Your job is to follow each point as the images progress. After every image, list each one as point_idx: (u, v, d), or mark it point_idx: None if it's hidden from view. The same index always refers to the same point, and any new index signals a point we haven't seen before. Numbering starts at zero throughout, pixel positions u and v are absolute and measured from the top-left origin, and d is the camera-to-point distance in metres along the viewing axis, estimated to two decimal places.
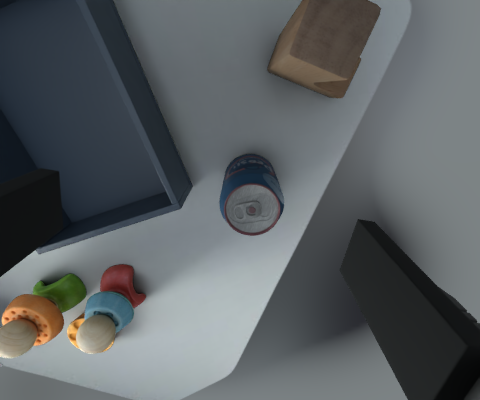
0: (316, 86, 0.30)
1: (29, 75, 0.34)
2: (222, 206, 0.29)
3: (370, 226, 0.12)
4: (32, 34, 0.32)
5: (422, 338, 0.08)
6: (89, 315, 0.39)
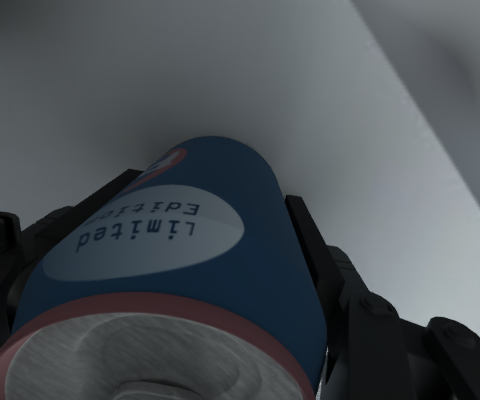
0: None
1: None
2: None
3: (294, 199, 0.13)
4: None
5: None
6: None
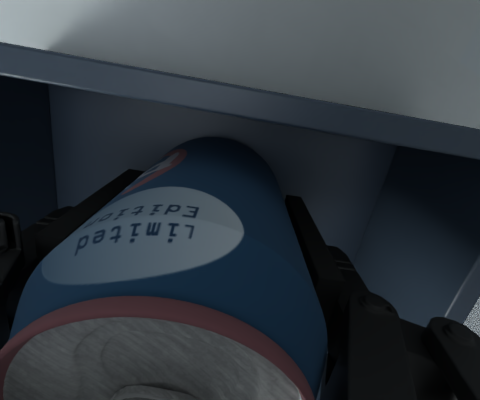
0: None
1: None
2: None
3: (294, 199, 0.13)
4: None
5: None
6: None
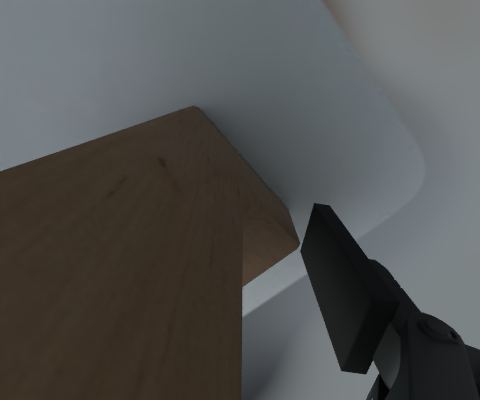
0: None
1: None
2: None
3: (324, 209, 0.13)
4: None
5: (347, 299, 0.09)
6: None
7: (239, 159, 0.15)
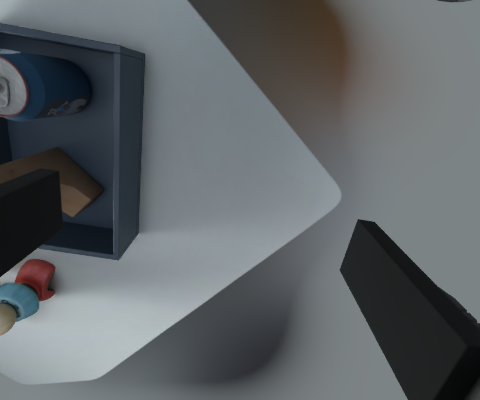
0: None
1: None
2: None
3: (370, 226, 0.12)
4: None
5: (422, 338, 0.08)
6: None
7: (73, 168, 0.41)
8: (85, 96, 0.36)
